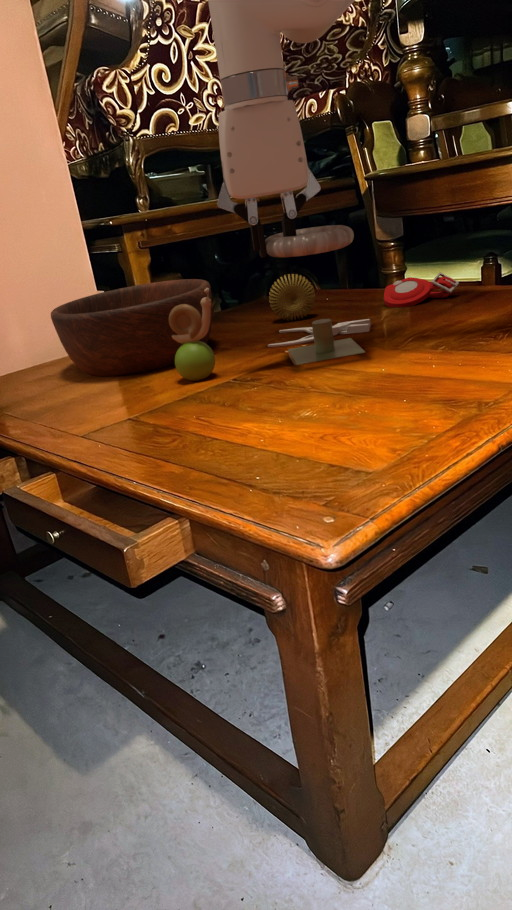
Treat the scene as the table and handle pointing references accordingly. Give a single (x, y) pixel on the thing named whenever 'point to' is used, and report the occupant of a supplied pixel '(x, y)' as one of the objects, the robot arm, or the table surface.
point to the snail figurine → (192, 340)
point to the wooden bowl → (126, 326)
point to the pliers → (337, 329)
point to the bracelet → (309, 241)
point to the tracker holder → (417, 290)
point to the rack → (324, 345)
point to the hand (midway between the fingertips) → (276, 252)
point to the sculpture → (292, 297)
